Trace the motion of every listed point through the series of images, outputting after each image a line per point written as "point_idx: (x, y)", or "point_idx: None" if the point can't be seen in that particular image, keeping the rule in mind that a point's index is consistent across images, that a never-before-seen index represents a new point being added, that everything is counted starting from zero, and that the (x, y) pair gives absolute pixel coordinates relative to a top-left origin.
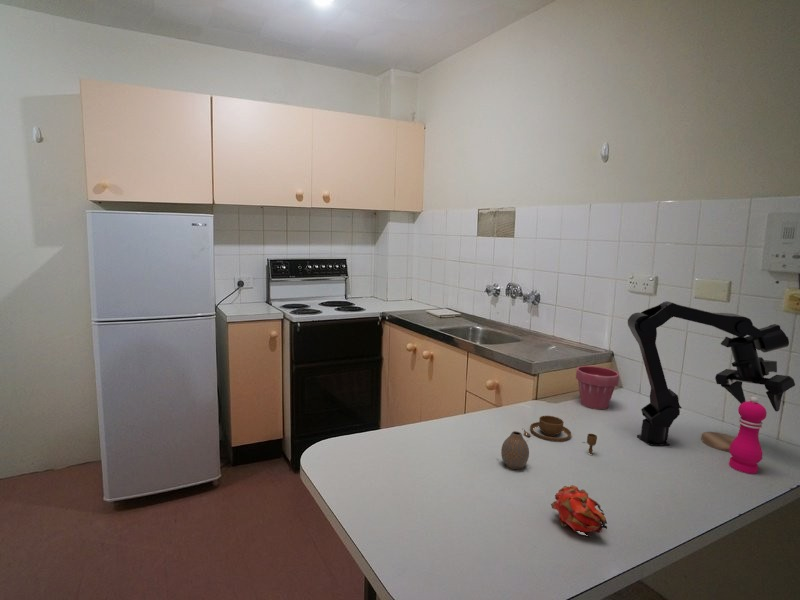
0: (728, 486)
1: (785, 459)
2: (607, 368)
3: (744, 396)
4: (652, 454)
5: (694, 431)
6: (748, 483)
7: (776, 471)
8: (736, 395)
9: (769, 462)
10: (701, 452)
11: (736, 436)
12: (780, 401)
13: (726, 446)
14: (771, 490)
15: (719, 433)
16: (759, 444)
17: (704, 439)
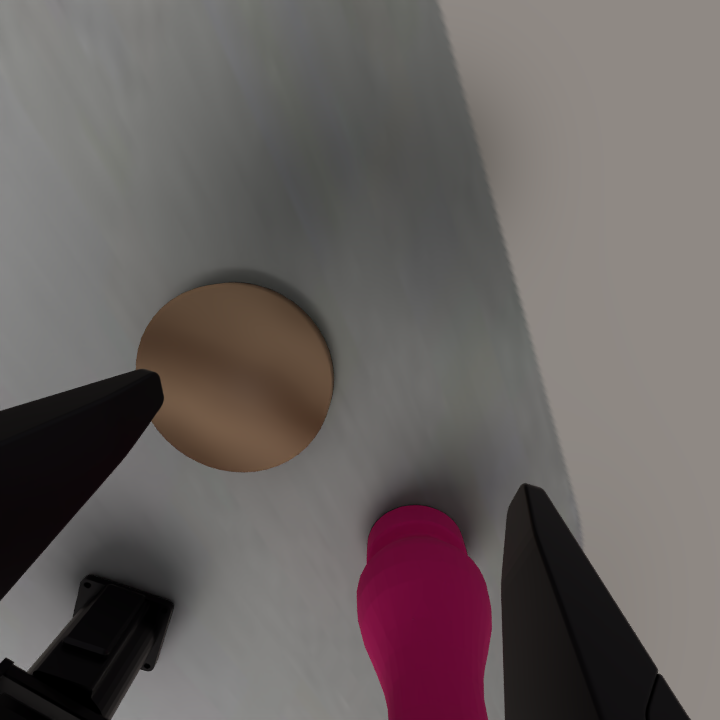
0: None
1: (474, 261)
2: None
3: (68, 419)
4: (208, 711)
5: (86, 342)
6: None
7: (500, 453)
8: (38, 554)
9: (447, 382)
10: (261, 550)
11: (381, 685)
12: (623, 637)
13: (290, 458)
14: None
15: (171, 313)
16: (485, 651)
17: (193, 455)
